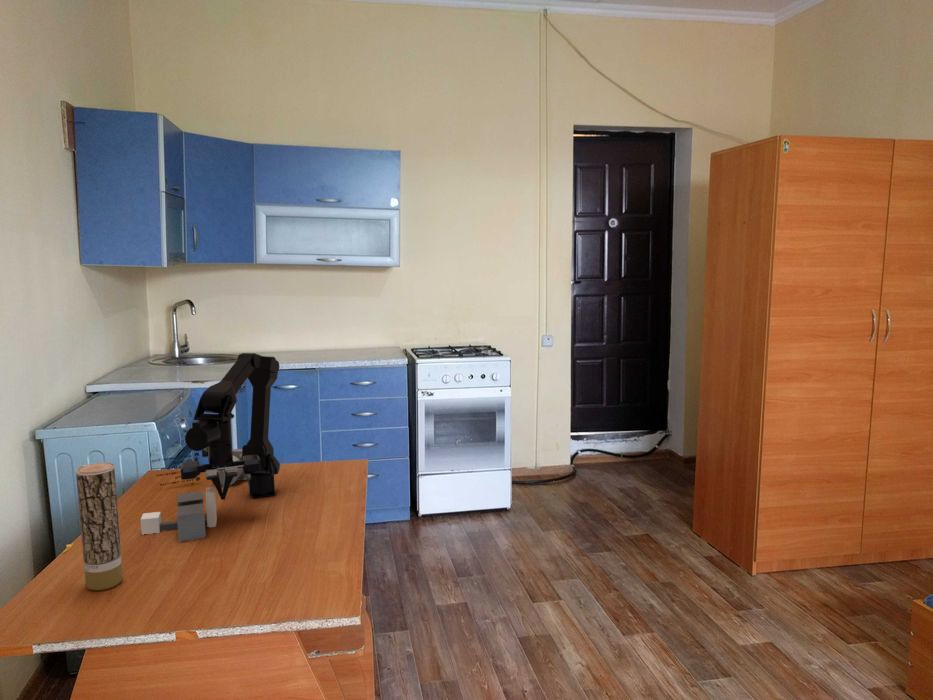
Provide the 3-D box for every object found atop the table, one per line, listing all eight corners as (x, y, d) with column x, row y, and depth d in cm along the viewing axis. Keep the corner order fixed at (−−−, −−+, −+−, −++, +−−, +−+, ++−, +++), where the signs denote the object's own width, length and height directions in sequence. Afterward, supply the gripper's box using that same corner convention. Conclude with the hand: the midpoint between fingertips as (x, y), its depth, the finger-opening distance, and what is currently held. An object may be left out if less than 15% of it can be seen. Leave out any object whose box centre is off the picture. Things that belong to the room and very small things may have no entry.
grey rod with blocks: (216, 520, 171) (214, 487, 169) (215, 526, 167) (213, 492, 165) (144, 528, 166) (141, 494, 164) (141, 535, 162) (139, 499, 160)
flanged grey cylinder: (246, 473, 208) (245, 442, 206) (255, 484, 198) (253, 452, 196) (153, 488, 194) (151, 456, 193) (157, 501, 184) (155, 466, 183)
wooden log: (107, 593, 134) (97, 474, 130) (78, 590, 135) (67, 471, 132) (130, 577, 140) (121, 463, 137) (102, 574, 142) (93, 461, 138)
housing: (203, 514, 175) (202, 490, 174) (205, 538, 160) (204, 512, 159) (179, 518, 172) (177, 494, 171) (178, 542, 158) (177, 516, 157)
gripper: (255, 428, 177) (258, 484, 179) (179, 435, 170) (183, 494, 172) (259, 438, 167) (262, 498, 169) (179, 447, 160) (183, 509, 162)
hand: (223, 499), depth 168 cm, fingers closed
